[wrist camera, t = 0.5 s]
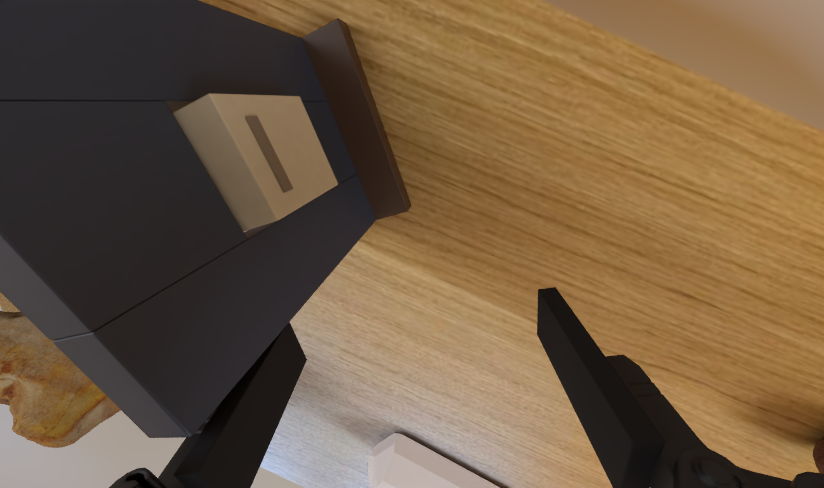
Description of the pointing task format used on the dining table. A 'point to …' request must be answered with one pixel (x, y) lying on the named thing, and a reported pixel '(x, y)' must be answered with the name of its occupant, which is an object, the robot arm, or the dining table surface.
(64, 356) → the rough brown rock
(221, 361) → the switch plate
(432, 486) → the crystal
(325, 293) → the dining table surface
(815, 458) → the coconut
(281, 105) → the switch
